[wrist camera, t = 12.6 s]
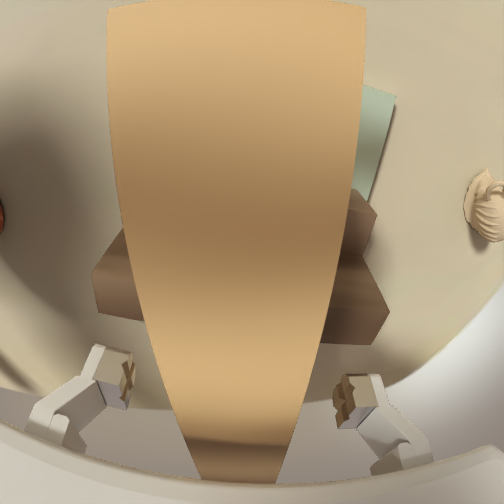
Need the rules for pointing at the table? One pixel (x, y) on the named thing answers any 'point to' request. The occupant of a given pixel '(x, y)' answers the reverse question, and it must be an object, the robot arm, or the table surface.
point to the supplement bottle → (1, 219)
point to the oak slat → (235, 204)
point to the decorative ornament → (486, 206)
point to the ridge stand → (350, 259)
